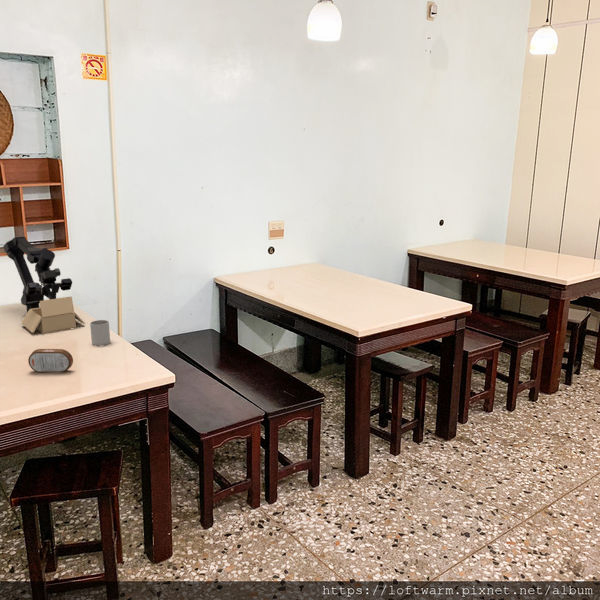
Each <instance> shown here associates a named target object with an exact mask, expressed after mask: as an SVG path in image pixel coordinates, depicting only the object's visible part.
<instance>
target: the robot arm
mask: <svg viewBox="0 0 600 600" xmlns="http://www.w3.org/2000/svg"><path fill="white" fill-rule="evenodd" d="M3 251H4V252H5V254H6V255H7V257H8V258H9V259H10V260H12V261H13V262H14V264H15V265H14V266H15V268H16V270H17V273H18V275H19V277H20V280H21V282H22V285H23V288H22V294H21V295H22V296H21V299H20V303H21V305H23V306H24V307H26V313H27V312H28V311H29V310H30V309H34V308H40V302H39V301H43V300H45V299H44V298H45V297H46V298H48V300H50V299H57V294H58V293H59V291H60V290H61V291H69V290H71V288H72V285H73V280H72V279H71V278H62V279H61V280H60V281H59V282H57V277H60V276H61V270H60V268H59V267H58V268H57V267H56V268H54V269H51V268H50V267H51V266H52V265H53V262H54V260H55V257H56V254H55V252H54V251H52V250H50V249H48V248H47V247H44V248H39V247H36V246H34V245H33V244H32V243H31V242H30V241H28V239H27V238H26V237H25V236H14V237H13V238H12V239H11V240H8V241H6V242H5V243H4V245H3ZM25 255H26V258H25ZM27 262H29V263H30V264H31V265H32V264H35V265H34V271H35V272H36V274H37V277H38V281H39V282H40V283H39V282H35V281H34V279H33V276H32V273H31V272H30V269H29V266H28V264H27Z"/></svg>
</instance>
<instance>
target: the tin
mask: <svg viewBox="0 0 600 600" xmlns="http://www.w3.org/2000/svg"><path fill="white" fill-rule="evenodd" d="M27 362H28V365H29V367H30V368H31V370H33V371H34V372H36V373H40V374H42V373H44V372H62V373H65V372H67V371H68V370H69V369H70V368H71V367H72V366H73V365H74V359H73V356H72V354H71V353H70V352H69V351H68V350H66V349H64V348H37V349H35V350H33V351H32V352H31V353H30V355H29V356H28V361H27ZM44 374H45V373H44Z"/></svg>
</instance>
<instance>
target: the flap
mask: <svg viewBox="0 0 600 600" xmlns="http://www.w3.org/2000/svg"><path fill="white" fill-rule="evenodd" d="M39 302H40V303H39V306H40V307H41V313H42V317H47V316H53V315H60V314H66V313H72V312H75V309H74V302H73V297H72V296H66V297H65V296H64V297H58V298H57V297H56V299H44V300H43V301H39Z"/></svg>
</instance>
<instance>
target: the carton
mask: <svg viewBox="0 0 600 600" xmlns="http://www.w3.org/2000/svg"><path fill="white" fill-rule="evenodd" d="M76 320H77V321H78V322H80V323H81V324H84V325H85V324H86V323H85V322H84V320H83V319H82V318H81V317H80V316H79V315H78V314H77V313H76V312H75V311H74V312H72V313H66V314H60V315H53V316H47V317H42V313H41V307H40V308H34V309H30V310H29V311H28V312H27V311H26V316H25V315H24V317H23V319H22V320H21V325H23V327H25V328H26V329H27V330H29V331H30V333H33V334H34V333H35V331H36V330H38V331H39V332H40V333H42V334H43V335H46V334H49V333H50V334H51V333H56V331H57V332H62V331H61V330H63V331H67V329H69V330H72V329H71V328H74V329H77V324H76ZM36 328H37V329H36Z"/></svg>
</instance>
